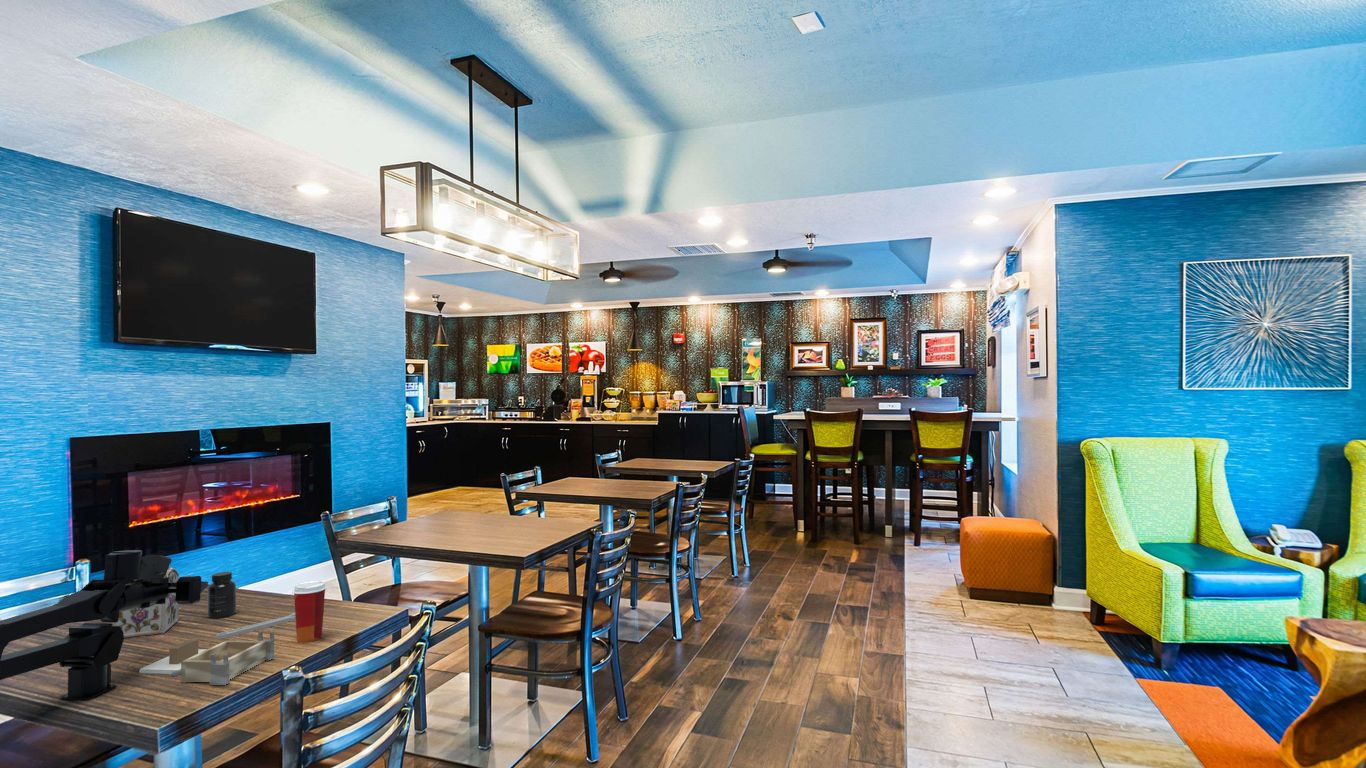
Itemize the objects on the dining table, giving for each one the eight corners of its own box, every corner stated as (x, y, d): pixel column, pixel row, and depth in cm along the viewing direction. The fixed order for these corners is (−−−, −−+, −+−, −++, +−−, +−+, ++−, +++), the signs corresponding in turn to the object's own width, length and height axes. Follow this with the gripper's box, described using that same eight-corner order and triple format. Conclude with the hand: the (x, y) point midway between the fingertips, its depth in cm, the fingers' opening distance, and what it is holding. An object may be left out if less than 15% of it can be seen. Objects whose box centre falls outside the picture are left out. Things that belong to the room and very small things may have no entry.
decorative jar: (164, 634, 177) (165, 566, 177) (110, 640, 172) (111, 570, 173) (179, 620, 188) (180, 556, 188) (129, 626, 184) (129, 560, 184)
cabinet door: (188, 652, 165) (188, 632, 165) (226, 653, 164) (226, 633, 164) (134, 676, 150) (135, 655, 150) (176, 677, 149) (176, 656, 149)
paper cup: (318, 631, 178) (319, 578, 178) (331, 637, 173) (331, 583, 173) (286, 639, 172) (287, 585, 172) (298, 646, 167) (299, 590, 167)
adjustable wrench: (218, 642, 172) (218, 635, 172) (211, 636, 176) (211, 629, 176) (321, 617, 190) (321, 611, 191) (313, 613, 195) (313, 607, 195)
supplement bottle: (212, 612, 194) (212, 571, 195) (239, 610, 197) (239, 569, 197) (203, 620, 188) (203, 577, 188) (231, 617, 190) (231, 575, 190)
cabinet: (229, 657, 160) (230, 630, 160) (273, 658, 159) (274, 631, 159) (176, 684, 145) (177, 654, 145) (225, 685, 144) (225, 655, 144)
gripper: (173, 559, 151) (227, 550, 166) (98, 559, 153) (158, 551, 168) (169, 609, 149) (224, 596, 165) (94, 610, 151) (155, 596, 167)
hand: (190, 583), depth 166 cm, fingers open, 9 cm apart
